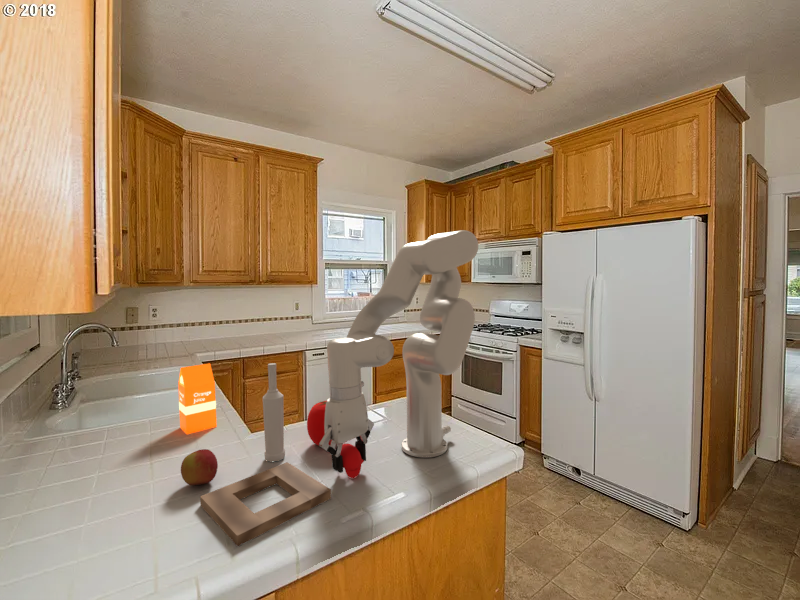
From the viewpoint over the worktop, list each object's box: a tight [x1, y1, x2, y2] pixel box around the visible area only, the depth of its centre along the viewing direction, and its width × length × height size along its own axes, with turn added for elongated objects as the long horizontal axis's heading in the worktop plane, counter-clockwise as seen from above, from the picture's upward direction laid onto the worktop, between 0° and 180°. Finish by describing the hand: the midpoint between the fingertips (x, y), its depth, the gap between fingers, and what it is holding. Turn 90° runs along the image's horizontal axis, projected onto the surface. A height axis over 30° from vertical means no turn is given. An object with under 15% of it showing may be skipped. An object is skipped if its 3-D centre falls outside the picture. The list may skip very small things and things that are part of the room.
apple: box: [180, 448, 219, 486], centre depth 88 cm, size 8×8×8 cm
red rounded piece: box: [340, 443, 365, 479], centre depth 91 cm, size 8×6×6 cm
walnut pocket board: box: [199, 461, 332, 547], centre depth 81 cm, size 20×18×2 cm
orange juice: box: [177, 363, 218, 435], centre depth 122 cm, size 8×9×20 cm
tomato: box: [306, 400, 337, 447], centre depth 109 cm, size 12×12×13 cm
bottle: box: [262, 362, 286, 462], centre depth 100 cm, size 5×5×25 cm
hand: (349, 464), depth 91 cm, fingers closed on red rounded piece, 6 cm apart
